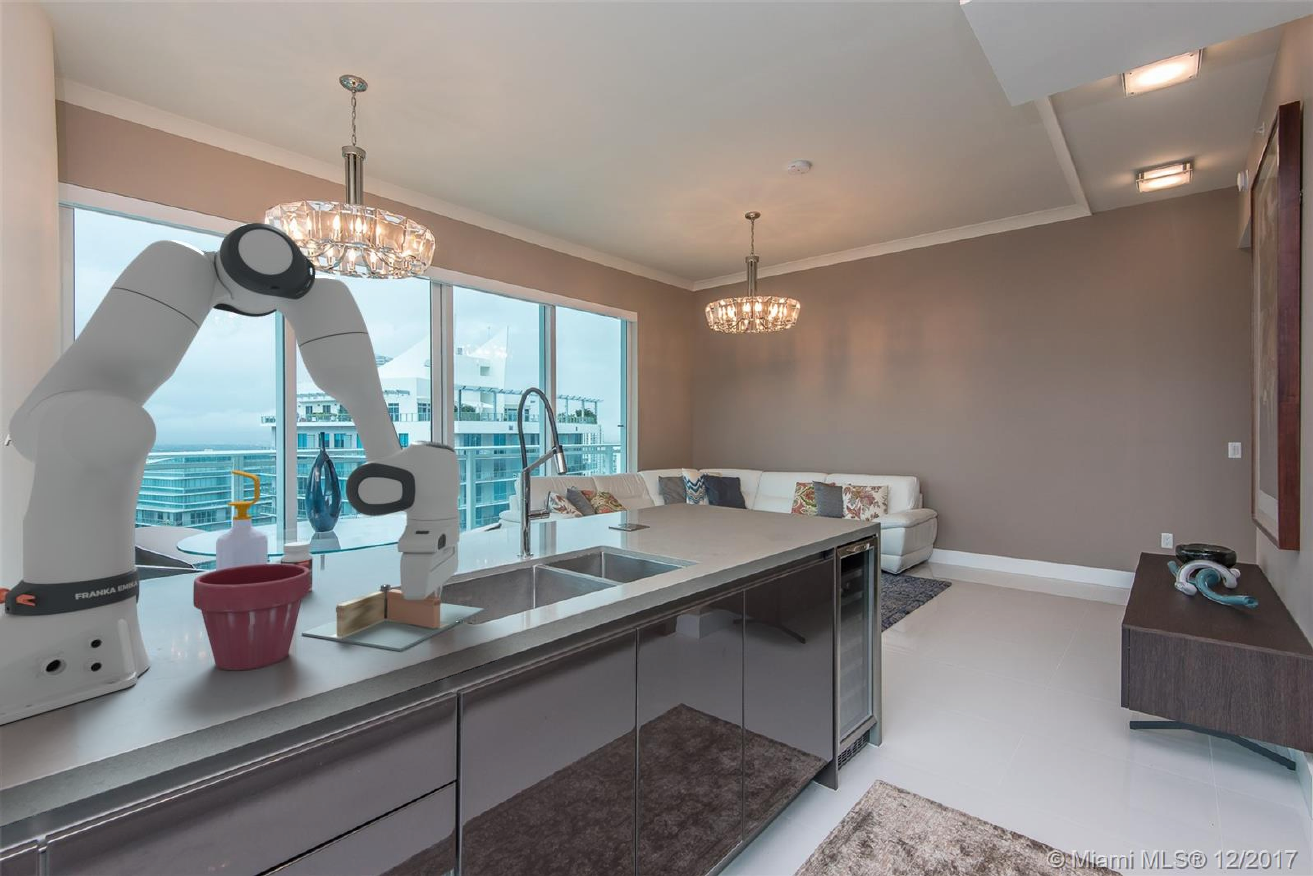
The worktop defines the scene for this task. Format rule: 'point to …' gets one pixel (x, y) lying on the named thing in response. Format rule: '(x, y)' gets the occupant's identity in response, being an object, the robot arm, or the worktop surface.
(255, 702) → the worktop surface
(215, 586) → the plant pot
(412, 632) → the board
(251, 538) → the soap bottle
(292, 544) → the pill bottle
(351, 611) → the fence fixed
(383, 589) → the fence post
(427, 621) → the orange hinged panel
